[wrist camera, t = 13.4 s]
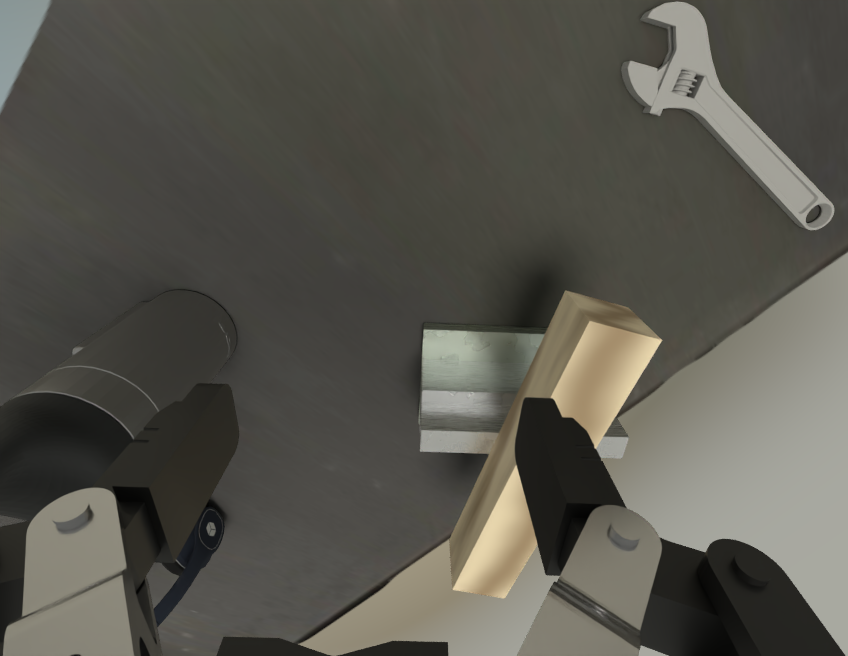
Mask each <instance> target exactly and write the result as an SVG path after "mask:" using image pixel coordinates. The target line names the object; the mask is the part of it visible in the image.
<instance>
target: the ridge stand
mask: <svg viewBox="0 0 848 656" xmlns="http://www.w3.org/2000/svg"><path fill="white" fill-rule="evenodd" d="M547 329H548V328H538V327H514V326H490V325H466V324H442V323H424V326H423V345H422V364H421V382H420V401H419V424H420V451H423V452H453V453H482V454H489V453H490V451H491V449H492V447H493V445H494V443H495V440H496V438H497V436H498V434H499V432H500V430H501V428H502V425H503V423H504V421H505V419H506V417H507V415H508V413H509V410H510V408H511V406H512V404H513V402H514V400H515V397H516V395H517V393H518V391H519V389H520V387H521V385H522V382H523V380H524V378H525V376H526V374H527V372H528V370H529V367H530V365H531V363H532V361H533V359H534V357H535V354H536V352H537V350H538V348H539V346H540V344H541V342H542V339H543V337H544V335H545V333H546V331H547ZM628 439H629V437H628V435H627V433H626V432H625V430H624V429H623V427H622V425H621V424H620V422H619V421H618V419H617V417H615V418H614V420H613V422H612V423H611V425H610V426H609V428H608V430H607V431H606V433H605V435H604V436H603V438H602V440H601V441H600V443H599V444H598V446H597V448H596V450H597V452H598V453H599V455H600V457H601V458H622V457H623V454H624V451H625V448H626V445H627V442H628Z"/></svg>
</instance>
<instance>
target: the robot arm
mask: <svg viewBox="0 0 848 656" xmlns="http://www.w3.org/2000/svg"><path fill="white" fill-rule="evenodd" d="M236 342H237V338H236V330H235V327H234V324H233V322H232V320H231V318H230V317H229V315H228V314H227V313H226V312H225V310H224V309H223V308H222V307H221V306H219V305H218V304H217V303H216V302H215V301H213V300H211V299H210V298H208V297H207V296H204V295H202V294H199V293H197V292H192V291H188V290H173V291H168V292H165V293H163V294H160V295H159V296H157V297H156V298H154V299H153V300H151V301H150V302H140V303H138V304H137V305H136V306H134V307H133V308H131V309H130V310H128V311H127V312H125V313H124V314H122V315H121V316H119V317H118V318H116V319H115V320H114V321H112V322H111V323H109V324H108V325H106V326H105V327H103V328H102V329H100V330H99V331H97V332H96V333H94V334H93V335H92V336H90V337H89V338H87V339H86V340H84V341H83V342H81V343H80V344H78V345H77V346H76V347H75V348H74V349H73V351H72V354H73V356H71V357H70V358H69V359H67V360H66V361H64V362H63V363H61V364H60V365H59V366H57V367H56V368H54V369H53V370H51V371H50V372H49V373H47V374H46V375H45V376H43V377H42V378H40V379H39V380H38V381H36V382H35V383H33V384H32V385H30V386H29V387H28V388H26V389H25V390H23V391H22V392H20V393H19V394H18V395H16V396H15V397H13V398H12V399H11V400H9V401H8V402H6V403H5V404H4V405H2V406H1V407H0V515H3V516H8V517H13V518H18V519H22V520H27V521H26V522H22V523H17V524H12V525H8V526H3V527H0V656H163V654H162V649H161V644H160V639H159V634H158V629H157V624H156V619H155V614H154V609H153V604H152V599H151V594H150V589H149V584H148V581H147V578H146V575H147V573H148V572H149V570H150V568H151V567H152V565H153V563H154V562H160V563H175V561H176V559H177V557H178V555H179V553H180V552H181V550H182V548H183V546H184V544H185V542H186V541H187V539H188V537H189V535H190V533H191V532H192V530H193V528H194V526H195V524H196V522H197V521H198V519H199V517H200V515H201V513H202V511H203V510H204V508H205V506H206V504H207V502H208V500H209V499H210V497H211V495H212V493H213V491H214V489H215V488H216V486H217V484H218V482H219V480H220V479H221V477H222V475H223V473H224V471H225V469H226V468H227V466H228V464H229V462H230V460H231V458H232V457H233V455H234V453H235V451H236V448H237V445H238V439H239V427H238V422H237V417H236V411H235V406H234V400H233V395H232V390H231V388H230V386H229V385H228V384H210V382H211V381H212V380H213V378H214V377H215V376H216V375H217V373H218V372H219V371H220V370H221V368H222V367H223V366H224V364H225V363H226V362H227V361H228V359H229V358H230V357H231V355H232V354H233V352H234V350H235V347H236ZM515 460H516V465H517V469H518V472H519V476H520V480H521V484H522V487H523V491H524V495H525V499H526V503H527V506H528V510H529V514H530V518H531V521H532V525H533V529H534V533H535V536H536V540H537V544H538V548H539V551H540V555H541V559H542V563H543V566H544V570H545V574H546V575H554V576H555V575H557V576H560V577H559V579H558V581H557V583H556V582H554V583H553V585H552V586H551V588H550V590H549V592H548V594H547V596H546V598H545V600H544V602H543V604H542V606H541V608H540V610H539V612H538V614H537V616H536V618H535V620H534V622H533V624H532V626H531V628H530V630H529V632H528V634H527V636H526V638H525V640H524V642H523V644H522V646H521V648H520V650H519V652H518V654H517V656H638V654H639V650H640V646H641V645H642V646H645V647H647V648H650V649H653V650H655V651H658V652H661V653H663V654H666V655H669V656H845V654H844V653H843V652H842V650H841V649H840V648H839V646H838V645H837V643H836V642H835V641H834V639H833V638H832V637H831V635H830V634H829V632H828V631H827V630H826V628H825V627H824V626H823V624H822V623H821V621H820V620H819V619H818V617H817V616H816V614H815V613H814V612H813V610H812V609H811V608H810V606H809V605H808V603H807V602H806V601H805V599H804V598H803V597H802V595H801V594H800V593H799V591H798V590H797V588H796V587H795V585H794V584H793V583H792V581H791V580H790V579H789V577H788V576H787V575H786V573H785V572H784V571H783V570H782V568H781V567H780V566H779V565H777V563H776V562H774V561H773V560H772V559H771V558H769V557H768V556H767V555H765V554H764V553H763V552H761V551H759V550H758V549H756V548H754V547H752V546H750V545H748V544H745V543H743V542H740V541H736V540H731V539H719V540H716V541H714V542H712V543H711V544H710V545H709V547H708V549H707V551H706V553H705V552H702V551H699V550H695V549H692V548H689V547H686V546H682V545H679V544H676V543H672V542H670V541H667V540H664V539H662V538H660V537H659V536H658V534H657V532H656V531H655V529H654V528H653V527H652V526H651V524H650V523H649V522H648V521H646V520H645V519H644V518H643V517H641V516H640V515H639V514H637V513H635V512H633V511H631V510H629V509H627V508H626V506H625V504H624V502H623V500H622V498H621V496H620V494H619V492H618V490H617V489H616V487H615V485H614V483H613V481H612V479H611V477H610V475H609V473H608V471H607V469H606V467H605V465H604V463H603V461H601V457H600V455H599V453H598V452H597V450H596V449H595V448H594V444H593V442H592V440H591V438H590V436H589V434H588V432H587V430H585V429H584V428H583V427H582V426H581V425H580V424H579V423H578V422H577V421H576V420H575V419H574V418H572V417H562V415H561V413H560V411H559V409H558V407H557V404H556V402H555V400H554V399H553V398H535V397H525V398H524V400H523V403H522V408H521V413H520V418H519V423H518V429H517V434H516V439H515ZM217 656H330V655H326V654H324V653H321V652H317V651H315V650H312V649H309V648H306V647H303V646H301V645H298V644H295V643H292V642H289V641H286V640H283V639H280V638H252V637H223V640H222V643H221V645H220V648H219V651H218V653H217ZM338 656H448V642H416V641H413V642H412V641H391V642H387V643H384V644H380V645H377V646H372V647H369V648H365V649H361V650H358V651H354V652H350V653H347V654H343V655H338Z"/></svg>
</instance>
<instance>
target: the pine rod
mask: <svg viewBox="0 0 848 656" xmlns="http://www.w3.org/2000/svg"><path fill="white" fill-rule="evenodd" d="M661 341H662V340H661V339H660V338H659V337H658V336H657V335H656V334H655V333H654V332H653V331H652V330H651V329H650V328H649V327H648V326H647V325H646V324H645V323H644V322H643V321H642V320H641V319H640V318H638V317H637V316H636V315H635V314H634V313H633V312H632V311H631V310H630V309H629V308H628V307H624V306H621V305H617V304H613V303H610V302H606V301H602V300H599V299H595V298H592V297H588V296H584V295H581V294H577V293H573V292H570V291H566V290H565V292H564V294H563V296H562V299H561V301H560V303H559V305H558V307H557V309H556V311H555V314H554V316H553V318H552V320H551V322H550V324H549V327H548V329H547V331H546V333H545V335H544V337H543V339H542V342H541V344H540V346H539V348H538V350H537V352H536V354H535V357H534V359H533V361H532V363H531V365H530V367H529V370H528V372H527V374H526V376H525V378H524V380H523V382H522V385H521V387H520V389H519V391H518V393H517V395H516V397H515V400H514V402H513V404H512V406H511V408H510V410H509V413H508V415H507V417H506V419H505V421H504V423H503V425H502V428H501V430H500V432H499V434H498V436H497V438H496V440H495V443H494V445H493V447H492V449H491V451H490V453H489V456H488V458H487V460H486V462H485V464H484V466H483V468H482V471H481V473H480V475H479V477H478V479H477V481H476V483H475V486H474V488H473V490H472V492H471V494H470V496H469V499H468V501H467V503H466V505H465V507H464V509H463V511H462V514H461V516H460V518H459V520H458V522H457V524H456V526H455V529H454V531H453V533H452V535H451V537H450V539H449V541H450V558H451V574H452V589H453V590H458V591H463V592H469V593H475V594H481V595H488V596H493V597H499V598H505V597H506V595H507V594H508V592H509V590H510V589H511V587H512V585H513V584H514V582H515V580H516V579H517V577H518V575H519V574H520V572H521V571H522V569H523V567H524V566H525V564H526V562H527V561H528V559H529V558H530V556H531V554H532V553H533V551H534V549H535V548H536V546H537V540H536V536H535V533H534V529H533V525H532V521H531V518H530V514H529V510H528V506H527V503H526V499H525V495H524V491H523V487H522V484H521V480H520V476H519V472H518V469H517V465H516V460H515V439H516V434H517V429H518V423H519V418H520V413H521V408H522V403H523V400H524V398H525V397H535V398H553V399H554V400H555V402H556V404H557V407H558V409H559V411H560V413H561V415H562V417H572V418H574V419H575V420H576V421H577V422H578V423H579V424H580V425H581V426H582V427H583V428H584V429H585V430H587V432H588V434H589V436H590V438H591V440H592V442H593V444H594V448H595V449H596V448H597V446H598V444H599V443H600V441H601V440H602V438H603V436H604V435H605V433H606V431H607V430H608V428H609V426H610V425H611V423H612V422H613V420H614V418H615V417H616V415H617V413H618V412H619V410H620V408H621V407H622V405H623V404H624V402H625V400H626V399H627V397H628V395H629V394H630V392H631V390H632V389H633V387H634V386H635V384H636V382H637V381H638V379H639V377H640V376H641V374H642V372H643V371H644V369H645V367H646V366H647V364H648V363H649V361H650V359H651V358H652V356H653V354H654V353H655V351H656V349H657V348H658V346H659V345H660V343H661Z"/></svg>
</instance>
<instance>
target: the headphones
mask: <svg viewBox="0 0 848 656" xmlns="http://www.w3.org/2000/svg"><path fill="white" fill-rule="evenodd" d="M224 527H225V526H224V520H223V518H222V516H221V515H220V514H219V512H218V511H217V510H216V509H215V508H213V507H211V506H210V507H205V508H204V510H203V511H202V513H201V515H200V517H199V519H198V521H197V522H196V524H195V526H194V528H193V530H192V532H191V533H190V535H189V537H188V539H187V541H186V542H185V544H184V546H183V548H182V550H181V552H180V553H179V555H178V557H177V559H176V561H175V563H162V564H163V565H164V567H165V568H166V569H167V570H169V571H170V572H171V573H173V574H176V575H179V576H180V577H179V578H178V579H177V581H176V582H175V584H174V585H173V586H172V588H171V589H170V590H169V592H168V593H167V594H166V595H165V597H164V598H163V599H162V600H161V601H160V603H159V604H158V605H157V606H156V607H155V608H154V614H155V619H156V624H157V627H158V626H159V625H160V624H161V623H162V622H163V620H164V619H165V618H166V617H167V616H168V615H169V614H170V612H171V611H172V610H173V609H174V607H175V606H176V605H177V604H178V602H179V601H180V600H181V599H182V597H183V596H184V594H185V593H186V591H187V590H188V588H189V587H190V586H191V584H192V582H193V581H194V579H195V577H196V576H197V574H198V573H199V571H200V569H201V568H204V567H205V566H206V565H207V563H208V562H209V560H210V558H211V556H212V554H213V553H214V552H215V551H216V550H217V549H218V547H219V545H220V543H221V541H222V537H223V534H224ZM158 622H159V623H160V624H159V623H158Z"/></svg>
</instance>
